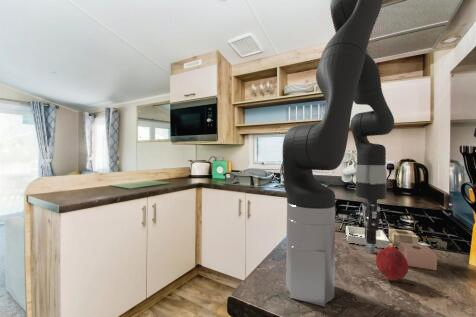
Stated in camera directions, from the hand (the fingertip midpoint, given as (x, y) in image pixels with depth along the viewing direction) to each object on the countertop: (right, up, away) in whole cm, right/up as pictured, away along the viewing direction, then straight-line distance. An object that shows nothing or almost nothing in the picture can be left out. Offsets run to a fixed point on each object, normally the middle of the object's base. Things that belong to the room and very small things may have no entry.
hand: (370, 241), depth 62 cm
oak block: (+13, -3, +5) cm, 14 cm away
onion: (-4, -3, -15) cm, 15 cm away
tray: (+4, -3, +9) cm, 10 cm away
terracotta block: (+8, -3, -6) cm, 11 cm away
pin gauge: (0, -3, 0) cm, 3 cm away
